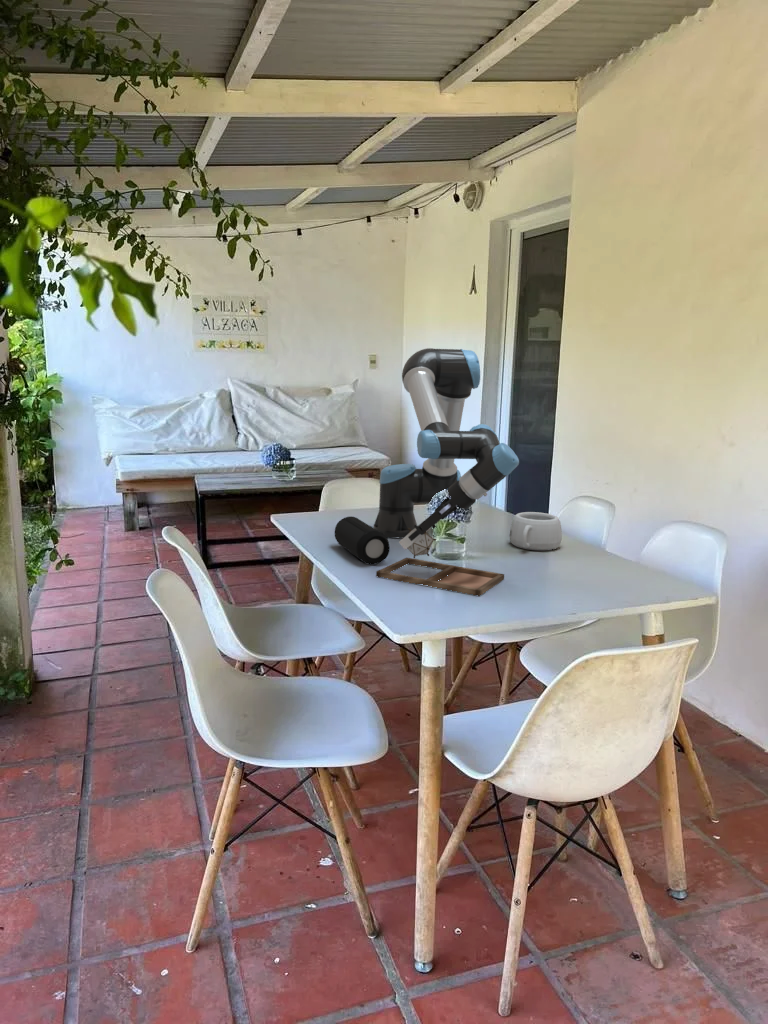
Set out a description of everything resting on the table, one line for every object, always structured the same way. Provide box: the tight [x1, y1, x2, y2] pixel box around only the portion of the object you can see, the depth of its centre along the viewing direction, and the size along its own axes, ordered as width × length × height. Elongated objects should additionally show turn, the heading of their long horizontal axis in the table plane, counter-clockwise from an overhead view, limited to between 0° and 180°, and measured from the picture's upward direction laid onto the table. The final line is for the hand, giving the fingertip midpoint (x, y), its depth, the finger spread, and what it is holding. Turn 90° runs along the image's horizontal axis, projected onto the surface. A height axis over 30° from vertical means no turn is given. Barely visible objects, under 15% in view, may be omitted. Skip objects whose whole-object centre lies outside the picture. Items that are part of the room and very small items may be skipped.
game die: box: [406, 528, 437, 559], centre depth 207 cm, size 9×8×10 cm
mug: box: [509, 511, 563, 551], centre depth 242 cm, size 21×17×10 cm
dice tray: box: [375, 557, 505, 597], centre depth 205 cm, size 30×18×2 cm, turn 61°
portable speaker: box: [334, 516, 390, 565], centre depth 225 cm, size 26×10×10 cm, turn 22°
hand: (407, 541), depth 208 cm, fingers closed on game die, 8 cm apart
